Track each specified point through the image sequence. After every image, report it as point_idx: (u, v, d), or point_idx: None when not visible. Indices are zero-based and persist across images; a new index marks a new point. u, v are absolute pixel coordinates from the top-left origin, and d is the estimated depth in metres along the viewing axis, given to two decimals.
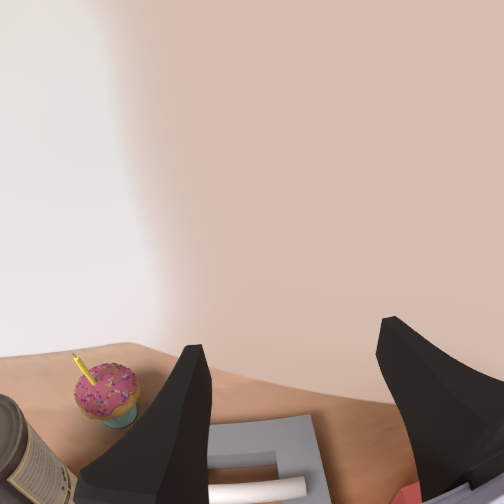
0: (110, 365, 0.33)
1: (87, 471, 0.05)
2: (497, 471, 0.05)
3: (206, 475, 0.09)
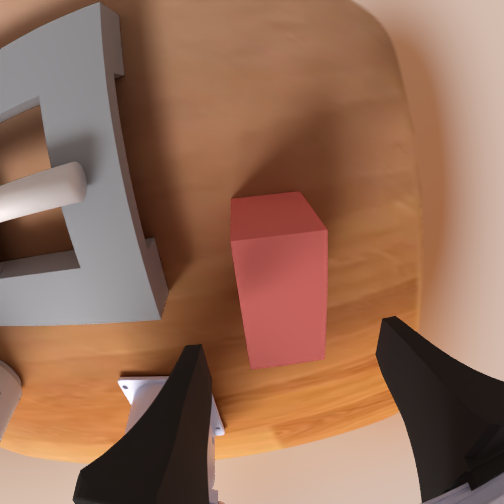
0: None
1: (87, 471, 0.05)
2: (497, 471, 0.05)
3: (206, 475, 0.09)
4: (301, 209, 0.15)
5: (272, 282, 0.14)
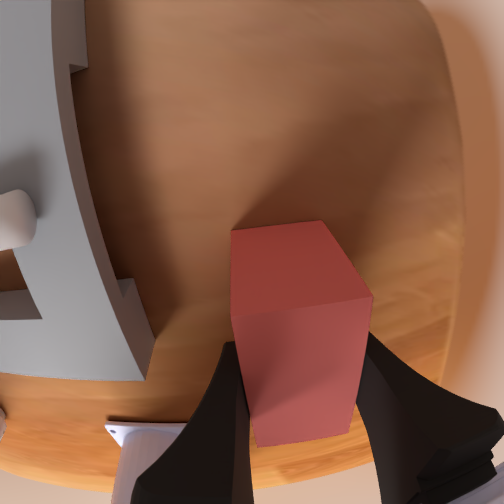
0: None
1: (146, 479, 0.05)
2: (454, 494, 0.05)
3: (250, 473, 0.09)
4: (329, 253, 0.11)
5: (290, 364, 0.09)
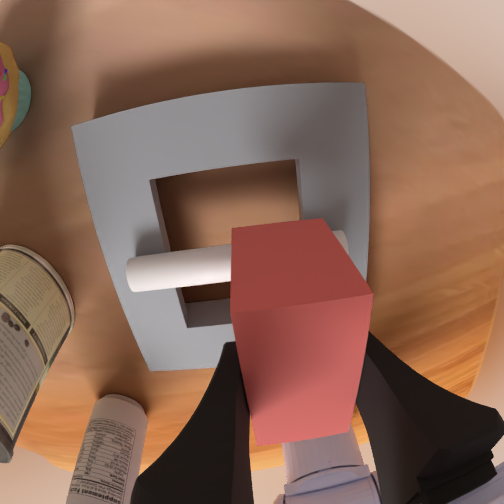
0: None
1: (145, 479, 0.05)
2: (454, 494, 0.05)
3: (250, 473, 0.09)
4: (330, 251, 0.11)
5: (290, 362, 0.09)
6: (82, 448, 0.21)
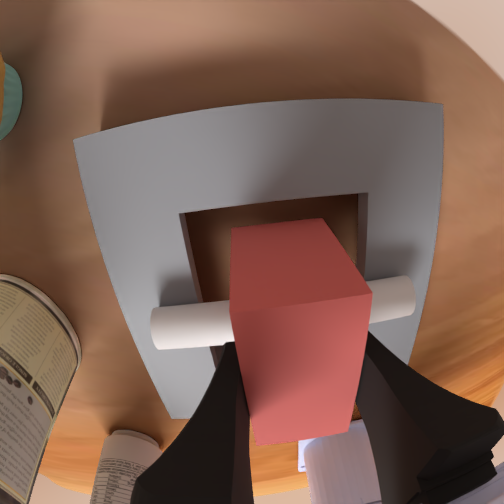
0: None
1: (145, 479, 0.05)
2: (454, 494, 0.05)
3: (250, 473, 0.09)
4: (329, 250, 0.11)
5: (289, 361, 0.09)
6: (95, 490, 0.18)
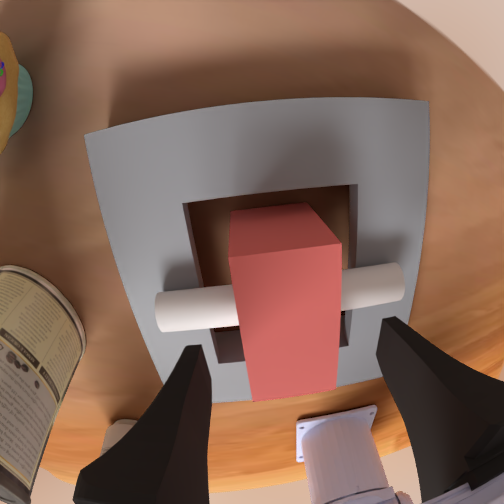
0: None
1: (87, 471, 0.05)
2: (497, 471, 0.05)
3: (206, 475, 0.09)
4: (310, 221, 0.13)
5: (277, 305, 0.12)
6: None
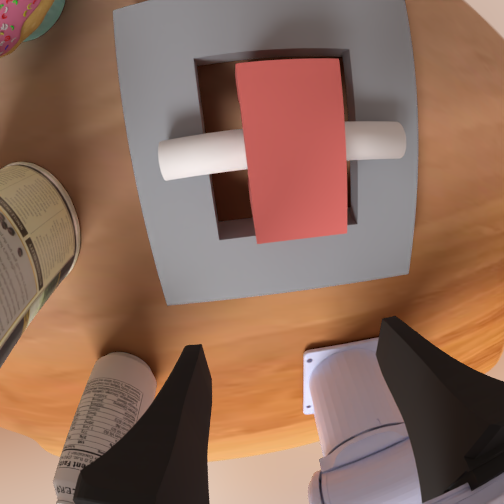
0: None
1: (88, 471, 0.05)
2: (497, 471, 0.05)
3: (206, 475, 0.09)
4: None
5: (282, 113, 0.11)
6: (77, 413, 0.19)
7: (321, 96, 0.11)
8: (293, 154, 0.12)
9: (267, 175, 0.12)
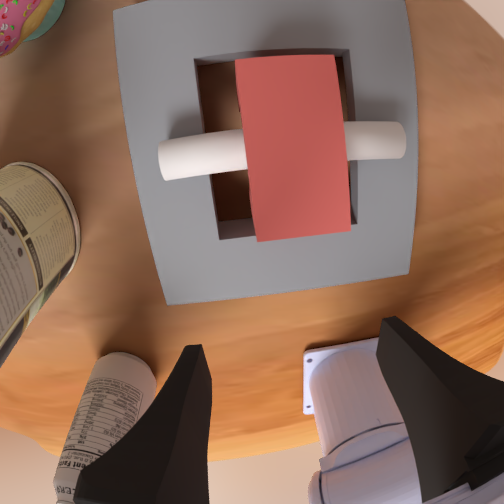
0: None
1: (88, 471, 0.05)
2: (497, 471, 0.05)
3: (206, 475, 0.09)
4: None
5: (281, 106, 0.11)
6: (77, 413, 0.19)
7: (318, 90, 0.11)
8: (292, 147, 0.12)
9: (267, 168, 0.12)
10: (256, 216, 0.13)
